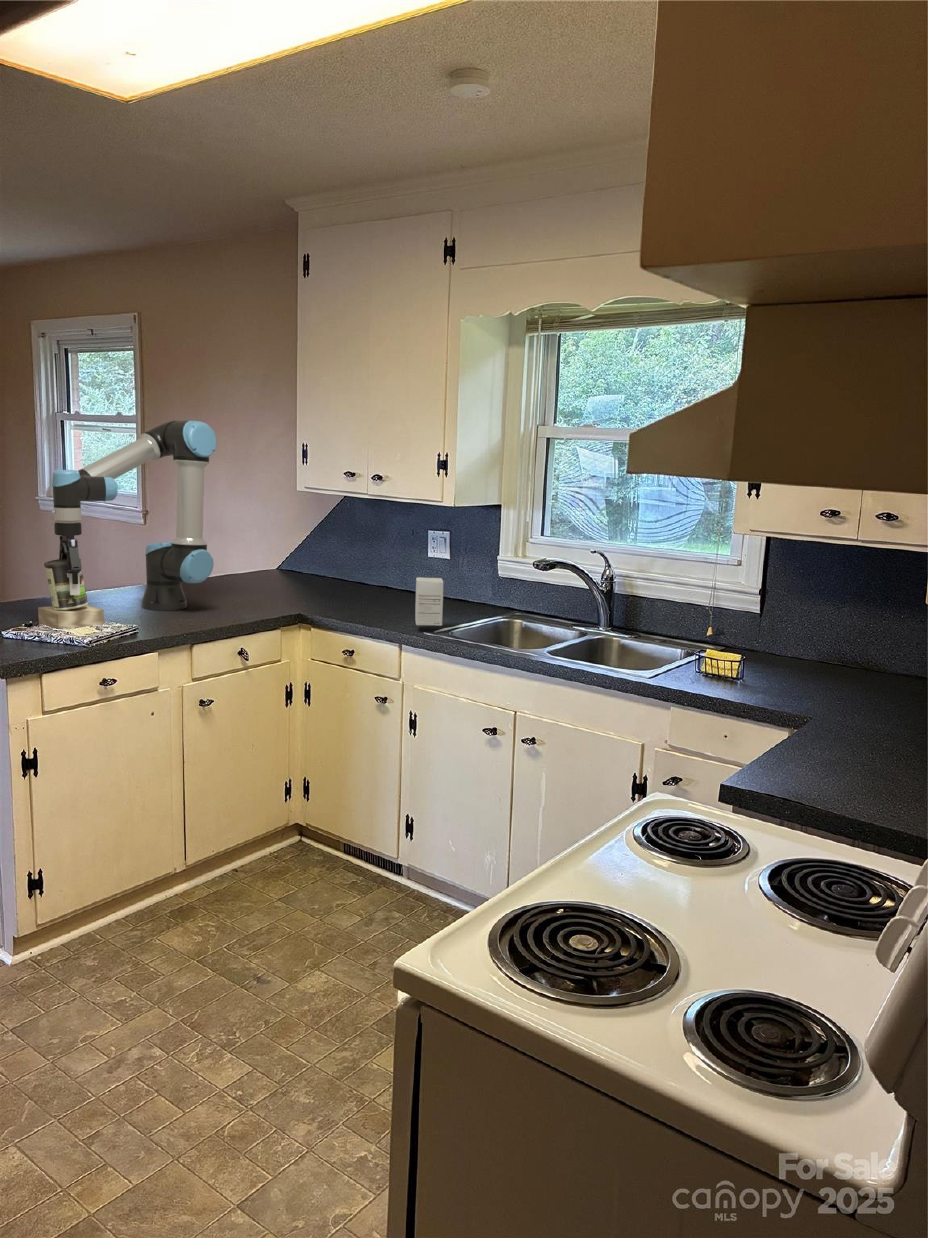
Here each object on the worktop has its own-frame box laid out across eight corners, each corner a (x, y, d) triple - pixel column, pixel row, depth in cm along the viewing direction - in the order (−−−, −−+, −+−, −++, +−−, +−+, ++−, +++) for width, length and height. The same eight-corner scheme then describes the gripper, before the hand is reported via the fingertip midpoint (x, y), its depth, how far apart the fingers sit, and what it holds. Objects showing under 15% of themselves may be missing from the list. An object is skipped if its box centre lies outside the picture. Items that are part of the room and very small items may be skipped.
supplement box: (414, 620, 319) (415, 577, 316) (440, 621, 320) (442, 577, 317) (415, 625, 310) (416, 580, 307) (442, 626, 311) (443, 581, 308)
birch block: (83, 622, 297) (82, 603, 296) (104, 628, 287) (103, 609, 286) (38, 626, 287) (38, 607, 286) (58, 633, 277) (58, 613, 276)
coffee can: (95, 602, 289) (87, 557, 285) (72, 610, 280) (64, 564, 276) (68, 601, 292) (60, 557, 289) (44, 610, 283) (36, 564, 279)
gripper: (46, 518, 289) (49, 586, 293) (62, 525, 269) (65, 598, 273) (72, 518, 294) (75, 585, 297) (89, 524, 273) (92, 596, 277)
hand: (70, 591), depth 285 cm, fingers open, 13 cm apart
